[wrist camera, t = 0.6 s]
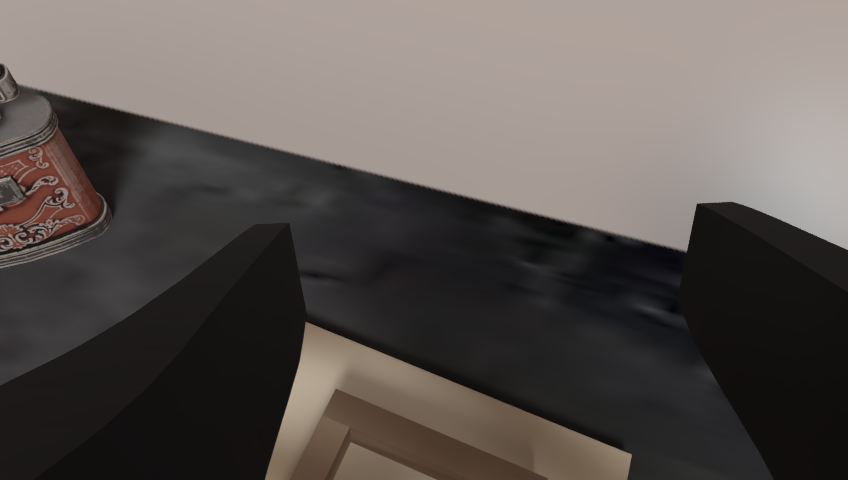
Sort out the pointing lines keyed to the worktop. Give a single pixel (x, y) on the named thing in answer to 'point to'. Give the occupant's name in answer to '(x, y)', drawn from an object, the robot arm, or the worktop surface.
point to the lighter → (41, 182)
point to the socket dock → (416, 426)
